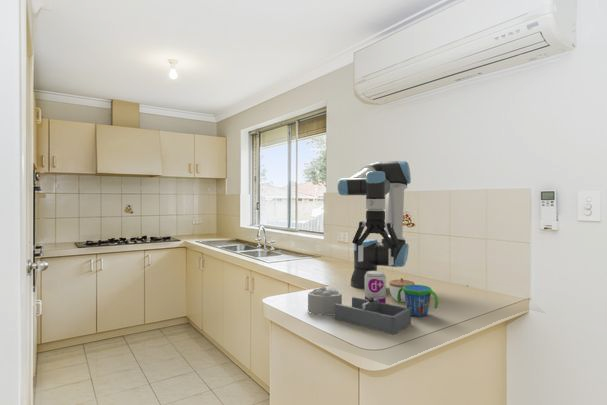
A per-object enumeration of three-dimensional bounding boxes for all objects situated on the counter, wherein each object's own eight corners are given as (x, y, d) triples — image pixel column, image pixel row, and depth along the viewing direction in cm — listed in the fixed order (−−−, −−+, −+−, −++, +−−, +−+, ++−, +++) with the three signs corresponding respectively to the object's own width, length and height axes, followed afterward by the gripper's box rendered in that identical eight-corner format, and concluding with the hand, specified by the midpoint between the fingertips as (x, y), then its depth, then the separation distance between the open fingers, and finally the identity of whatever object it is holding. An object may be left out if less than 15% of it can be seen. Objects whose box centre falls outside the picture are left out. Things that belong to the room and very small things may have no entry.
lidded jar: (415, 297, 165) (415, 276, 165) (414, 304, 155) (414, 282, 155) (390, 295, 169) (390, 275, 168) (388, 302, 158) (388, 280, 158)
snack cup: (392, 312, 145) (392, 286, 144) (406, 306, 152) (406, 281, 152) (429, 321, 133) (429, 293, 133) (442, 315, 141) (443, 288, 141)
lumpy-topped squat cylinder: (343, 313, 143) (343, 291, 143) (310, 316, 141) (310, 293, 140) (336, 306, 153) (336, 285, 153) (305, 307, 151) (305, 286, 151)
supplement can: (385, 313, 143) (385, 275, 143) (364, 312, 145) (364, 274, 144) (385, 307, 151) (385, 270, 151) (365, 306, 153) (365, 270, 152)
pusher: (361, 320, 131) (361, 300, 131) (375, 313, 139) (375, 294, 139) (366, 321, 130) (366, 301, 130) (380, 314, 137) (380, 295, 137)
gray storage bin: (334, 318, 137) (334, 304, 137) (353, 310, 147) (353, 296, 147) (394, 334, 121) (394, 317, 121) (410, 323, 131) (411, 308, 131)
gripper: (344, 209, 152) (344, 260, 153) (400, 211, 136) (400, 268, 137) (353, 209, 158) (353, 258, 158) (409, 210, 142) (409, 265, 142)
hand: (375, 263), depth 147 cm, fingers open, 13 cm apart
